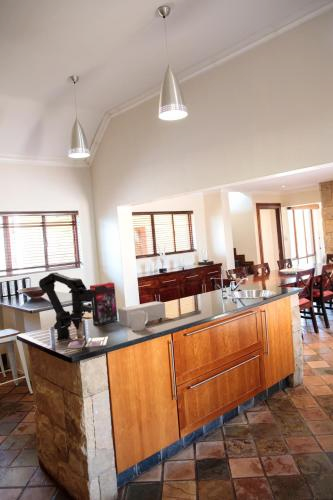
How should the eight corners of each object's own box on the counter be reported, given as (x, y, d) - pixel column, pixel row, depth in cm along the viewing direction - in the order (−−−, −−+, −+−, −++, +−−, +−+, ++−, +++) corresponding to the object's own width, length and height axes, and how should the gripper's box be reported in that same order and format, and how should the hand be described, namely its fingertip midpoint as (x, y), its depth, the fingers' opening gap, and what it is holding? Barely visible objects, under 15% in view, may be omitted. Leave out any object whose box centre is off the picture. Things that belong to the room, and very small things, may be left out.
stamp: (74, 341, 213) (73, 324, 213) (76, 339, 218) (75, 322, 218) (83, 341, 214) (82, 323, 213) (85, 338, 219) (83, 321, 218)
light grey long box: (156, 316, 272) (155, 301, 272) (165, 317, 264) (164, 302, 263) (119, 324, 252) (117, 308, 252) (127, 326, 244) (126, 310, 243)
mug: (136, 332, 225) (135, 314, 225) (128, 330, 232) (127, 312, 232) (152, 328, 233) (151, 310, 233) (143, 326, 240) (142, 309, 240)
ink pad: (68, 348, 200) (67, 345, 200) (71, 343, 209) (70, 341, 209) (83, 347, 201) (82, 344, 201) (85, 342, 210) (85, 340, 210)
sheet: (84, 347, 201) (84, 346, 201) (89, 338, 219) (89, 337, 219) (105, 345, 202) (105, 344, 202) (108, 336, 220) (108, 336, 220)
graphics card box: (98, 326, 249) (95, 285, 248) (92, 325, 254) (89, 285, 253) (118, 321, 262) (115, 282, 261) (111, 320, 266) (109, 282, 266)
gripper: (89, 302, 207) (91, 330, 207) (93, 297, 225) (94, 323, 226) (68, 304, 206) (70, 332, 206) (74, 298, 225) (76, 324, 225)
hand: (78, 327), depth 216 cm, fingers open, 9 cm apart
